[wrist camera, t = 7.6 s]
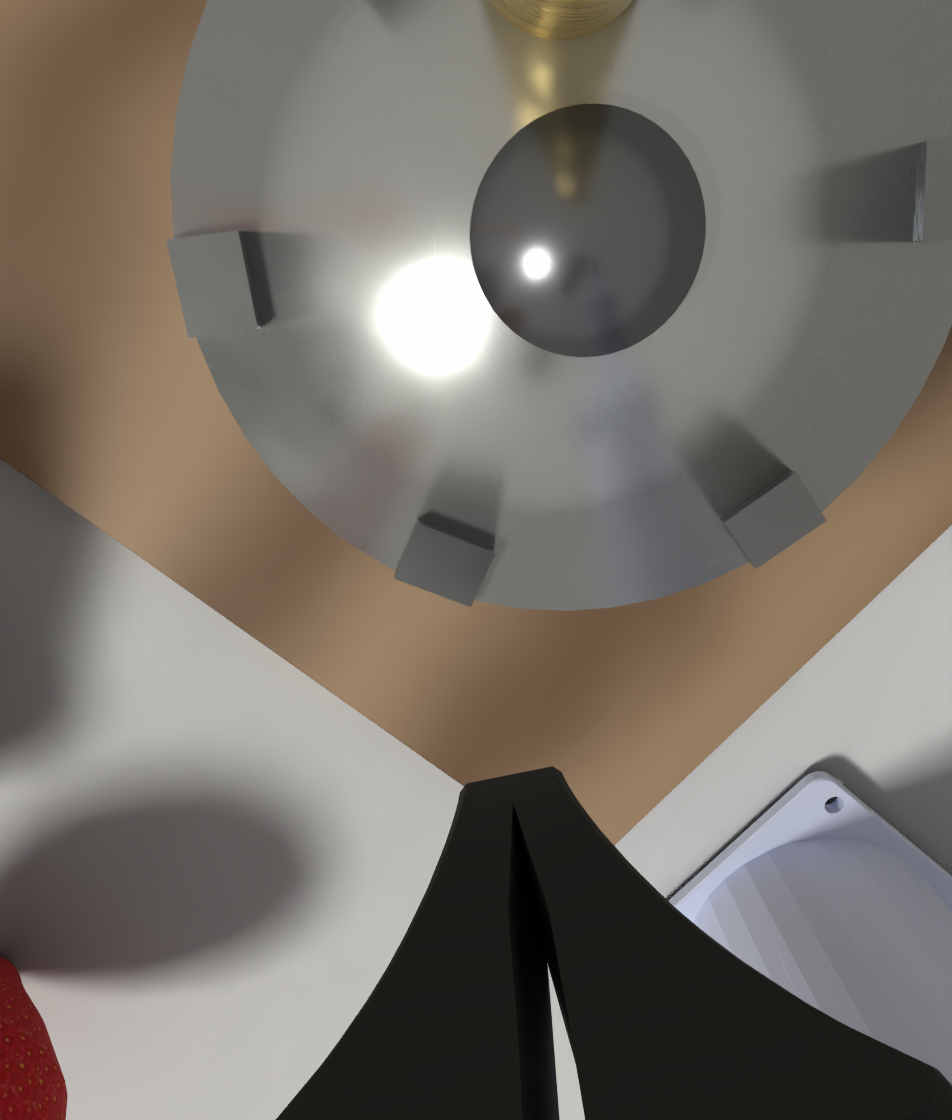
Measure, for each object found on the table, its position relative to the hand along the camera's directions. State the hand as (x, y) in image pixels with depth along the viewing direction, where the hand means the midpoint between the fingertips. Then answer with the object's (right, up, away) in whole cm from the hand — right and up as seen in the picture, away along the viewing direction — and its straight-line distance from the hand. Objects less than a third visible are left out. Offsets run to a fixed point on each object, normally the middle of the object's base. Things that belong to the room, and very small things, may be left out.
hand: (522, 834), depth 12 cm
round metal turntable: (+1, +10, +5) cm, 12 cm away
